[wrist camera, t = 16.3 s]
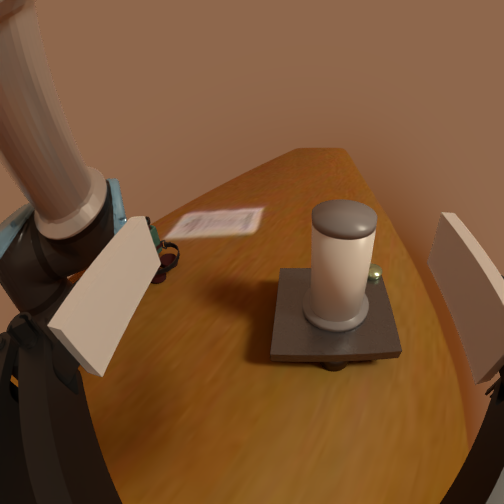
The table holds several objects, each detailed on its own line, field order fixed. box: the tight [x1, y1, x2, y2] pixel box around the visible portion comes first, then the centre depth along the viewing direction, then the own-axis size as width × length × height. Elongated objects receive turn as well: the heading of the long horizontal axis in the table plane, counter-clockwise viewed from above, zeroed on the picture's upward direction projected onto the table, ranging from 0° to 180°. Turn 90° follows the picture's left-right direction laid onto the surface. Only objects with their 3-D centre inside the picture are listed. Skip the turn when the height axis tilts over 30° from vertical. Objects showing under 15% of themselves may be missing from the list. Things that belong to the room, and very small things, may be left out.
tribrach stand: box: [270, 264, 402, 371], centre depth 36 cm, size 16×16×5 cm
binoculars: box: [145, 217, 180, 283], centre depth 50 cm, size 9×11×10 cm
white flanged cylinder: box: [303, 200, 377, 332], centre depth 31 cm, size 9×9×14 cm
